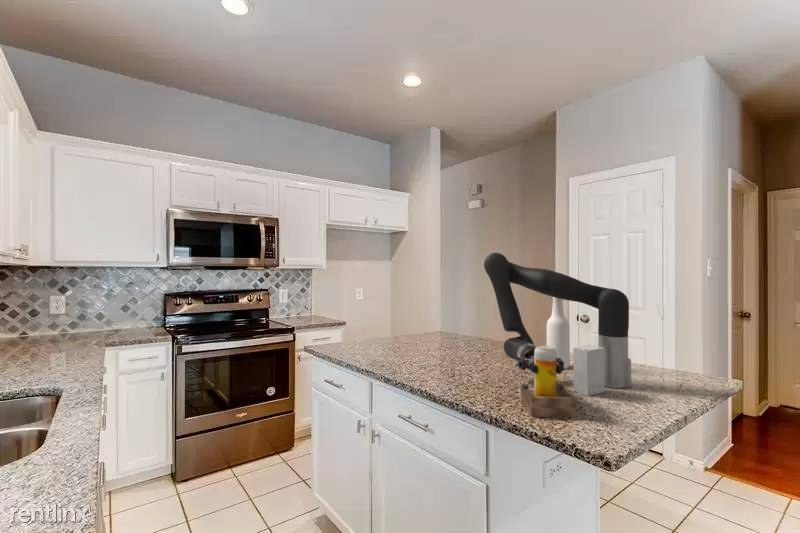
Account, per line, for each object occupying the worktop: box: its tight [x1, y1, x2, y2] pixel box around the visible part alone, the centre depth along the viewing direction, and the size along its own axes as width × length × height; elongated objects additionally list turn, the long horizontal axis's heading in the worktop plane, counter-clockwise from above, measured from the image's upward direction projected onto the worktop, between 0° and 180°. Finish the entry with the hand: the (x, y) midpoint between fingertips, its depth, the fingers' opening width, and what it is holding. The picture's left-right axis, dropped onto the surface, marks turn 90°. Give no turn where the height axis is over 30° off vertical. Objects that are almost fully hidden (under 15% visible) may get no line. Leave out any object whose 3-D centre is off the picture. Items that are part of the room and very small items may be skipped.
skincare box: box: [573, 344, 606, 397], centre depth 134 cm, size 8×6×15 cm
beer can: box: [533, 345, 558, 397], centre depth 119 cm, size 6×6×15 cm
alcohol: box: [546, 297, 571, 370], centre depth 169 cm, size 9×9×30 cm
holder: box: [520, 383, 577, 418], centre depth 118 cm, size 12×12×6 cm
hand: (548, 370), depth 116 cm, fingers closed on beer can, 6 cm apart
